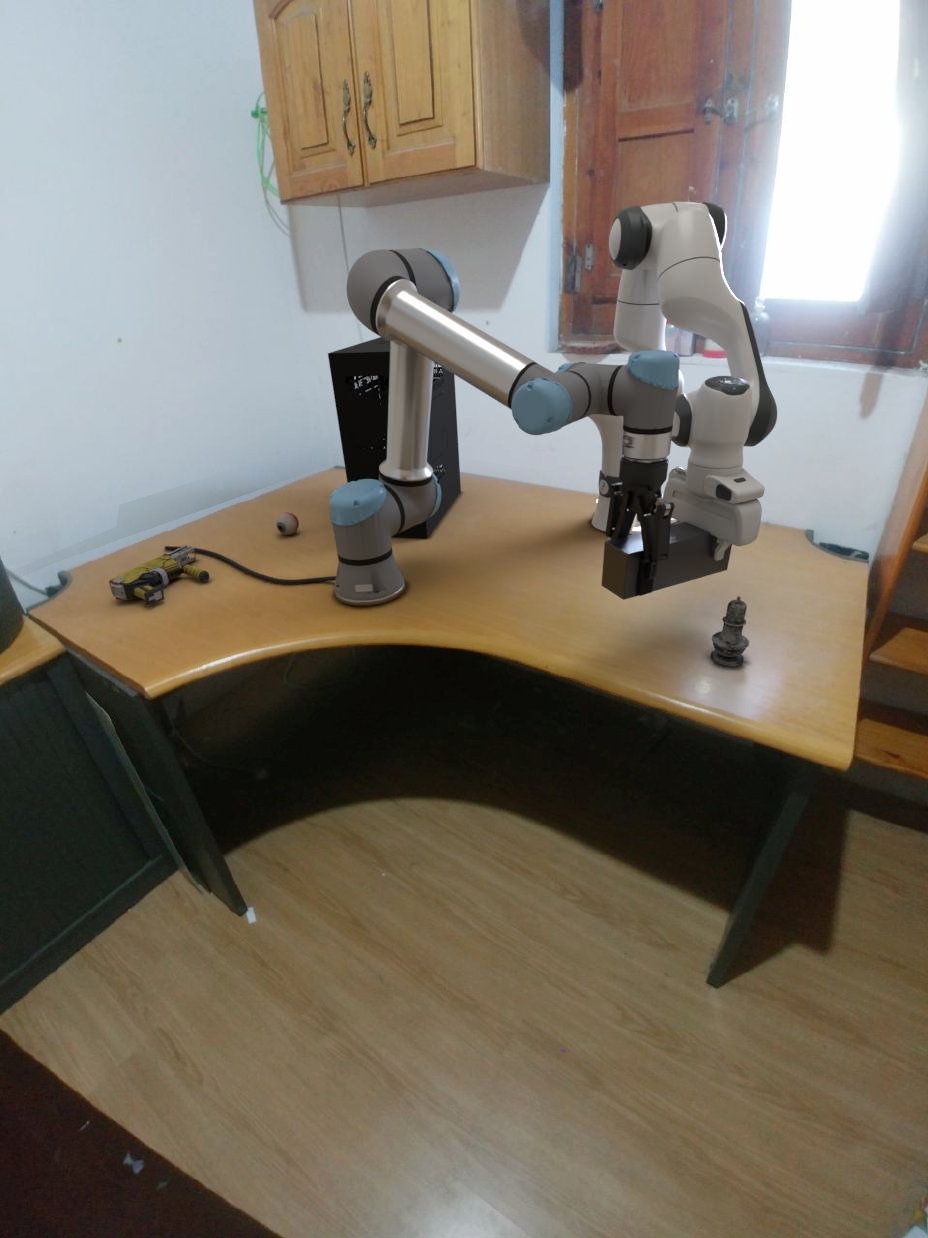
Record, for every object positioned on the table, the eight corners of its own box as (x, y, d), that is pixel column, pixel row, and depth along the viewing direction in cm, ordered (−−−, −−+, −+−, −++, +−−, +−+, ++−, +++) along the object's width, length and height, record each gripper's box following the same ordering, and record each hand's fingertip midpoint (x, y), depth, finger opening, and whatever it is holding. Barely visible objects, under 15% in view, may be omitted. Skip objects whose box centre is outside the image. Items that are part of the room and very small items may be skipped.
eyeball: (273, 537, 164) (268, 516, 161) (287, 528, 169) (282, 508, 166) (291, 539, 161) (286, 518, 158) (305, 530, 166) (301, 510, 163)
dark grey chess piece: (748, 668, 101) (762, 605, 95) (711, 665, 102) (722, 603, 96) (741, 649, 106) (754, 588, 100) (706, 647, 107) (717, 586, 101)
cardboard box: (427, 537, 157) (411, 350, 135) (355, 534, 162) (327, 353, 139) (460, 491, 189) (452, 333, 166) (399, 490, 194) (383, 336, 171)
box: (702, 557, 117) (709, 515, 113) (727, 570, 112) (735, 526, 108) (601, 585, 109) (604, 541, 105) (623, 600, 104) (627, 554, 100)
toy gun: (232, 553, 147) (182, 542, 151) (158, 593, 127) (102, 580, 131) (234, 570, 150) (185, 559, 154) (162, 613, 130) (107, 599, 134)
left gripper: (589, 447, 103) (582, 569, 114) (667, 475, 87) (650, 613, 99) (625, 440, 105) (615, 561, 117) (707, 467, 90) (686, 602, 101)
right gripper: (657, 466, 112) (649, 536, 119) (744, 497, 96) (729, 575, 102) (684, 461, 114) (675, 530, 121) (773, 490, 98) (757, 567, 105)
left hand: (631, 584), depth 108 cm, fingers closed on box, 6 cm apart
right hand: (700, 551), depth 112 cm, fingers closed on box, 6 cm apart
